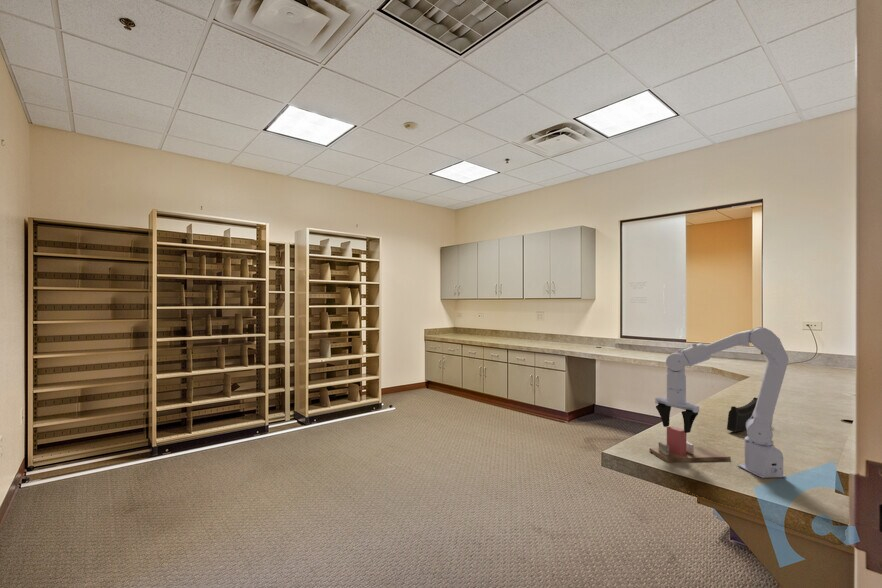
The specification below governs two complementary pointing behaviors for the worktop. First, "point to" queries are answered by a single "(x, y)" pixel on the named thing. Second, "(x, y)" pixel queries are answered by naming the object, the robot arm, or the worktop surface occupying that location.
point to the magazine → (740, 416)
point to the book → (676, 440)
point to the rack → (698, 455)
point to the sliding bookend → (689, 448)
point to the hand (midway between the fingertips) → (676, 429)
